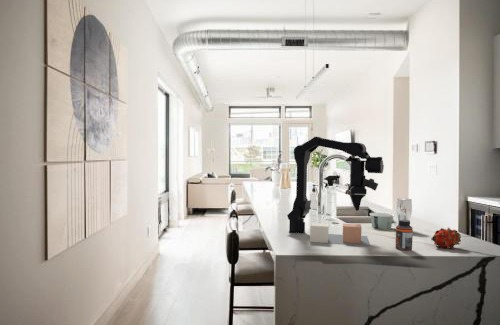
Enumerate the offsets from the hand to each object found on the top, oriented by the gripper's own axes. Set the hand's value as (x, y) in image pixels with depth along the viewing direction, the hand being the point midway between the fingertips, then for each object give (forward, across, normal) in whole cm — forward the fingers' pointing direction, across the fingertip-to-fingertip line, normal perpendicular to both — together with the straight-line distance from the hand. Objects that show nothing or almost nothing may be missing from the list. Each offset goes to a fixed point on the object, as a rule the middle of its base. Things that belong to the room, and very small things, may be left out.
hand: (356, 209), depth 175 cm
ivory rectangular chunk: (+12, -8, +15) cm, 21 cm away
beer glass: (+13, +31, -25) cm, 42 cm away
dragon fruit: (+13, -7, -34) cm, 37 cm away
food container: (+13, +36, -16) cm, 41 cm away
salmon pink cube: (+12, -6, +2) cm, 14 cm away
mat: (+13, -3, +7) cm, 15 cm away
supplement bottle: (+13, -16, -17) cm, 26 cm away
